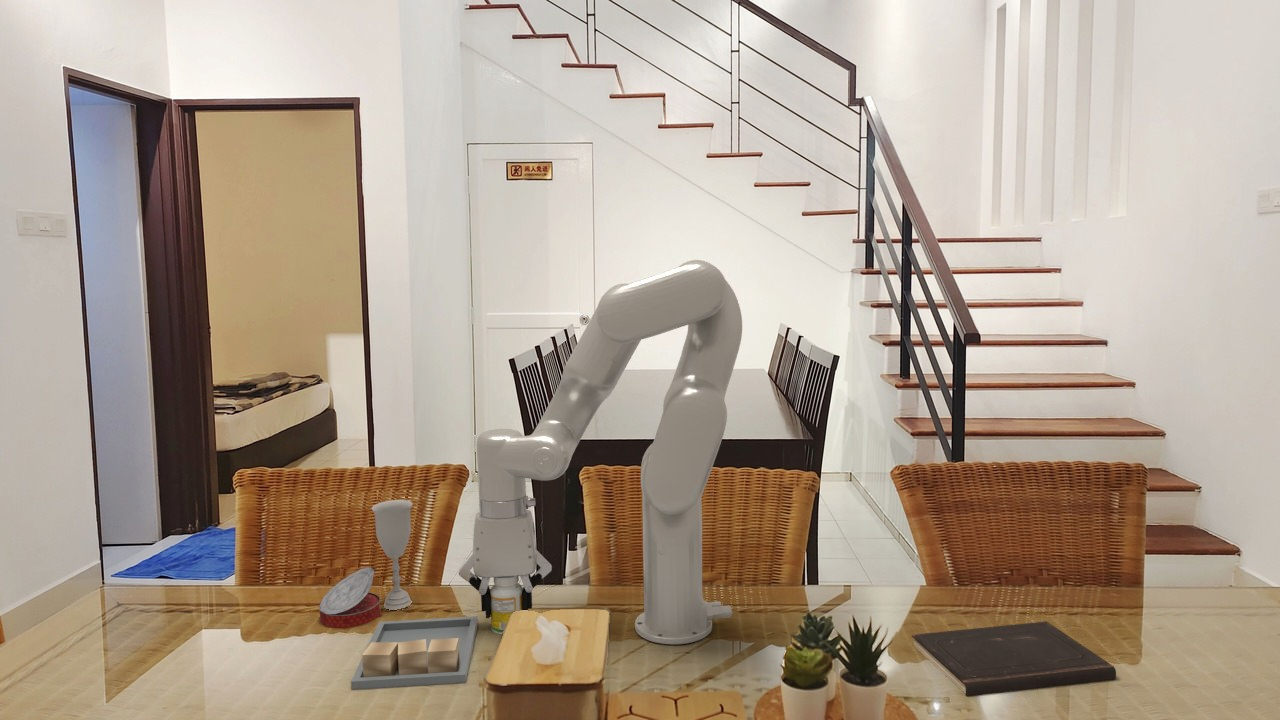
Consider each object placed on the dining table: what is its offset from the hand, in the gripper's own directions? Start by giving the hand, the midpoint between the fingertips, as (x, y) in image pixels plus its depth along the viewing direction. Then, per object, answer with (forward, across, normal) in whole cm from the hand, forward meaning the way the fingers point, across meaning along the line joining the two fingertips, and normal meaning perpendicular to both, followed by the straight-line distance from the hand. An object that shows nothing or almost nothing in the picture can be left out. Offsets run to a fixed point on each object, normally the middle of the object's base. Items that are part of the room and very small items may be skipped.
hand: (507, 612), depth 144 cm
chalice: (+3, +20, -13) cm, 24 cm away
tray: (+3, +13, +8) cm, 16 cm away
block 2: (+2, +13, +14) cm, 19 cm away
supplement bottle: (+3, 0, 0) cm, 3 cm away
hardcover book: (+4, -75, +21) cm, 78 cm away
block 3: (+2, +8, +14) cm, 17 cm away
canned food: (+3, +27, -8) cm, 28 cm away
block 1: (+2, +18, +14) cm, 23 cm away
